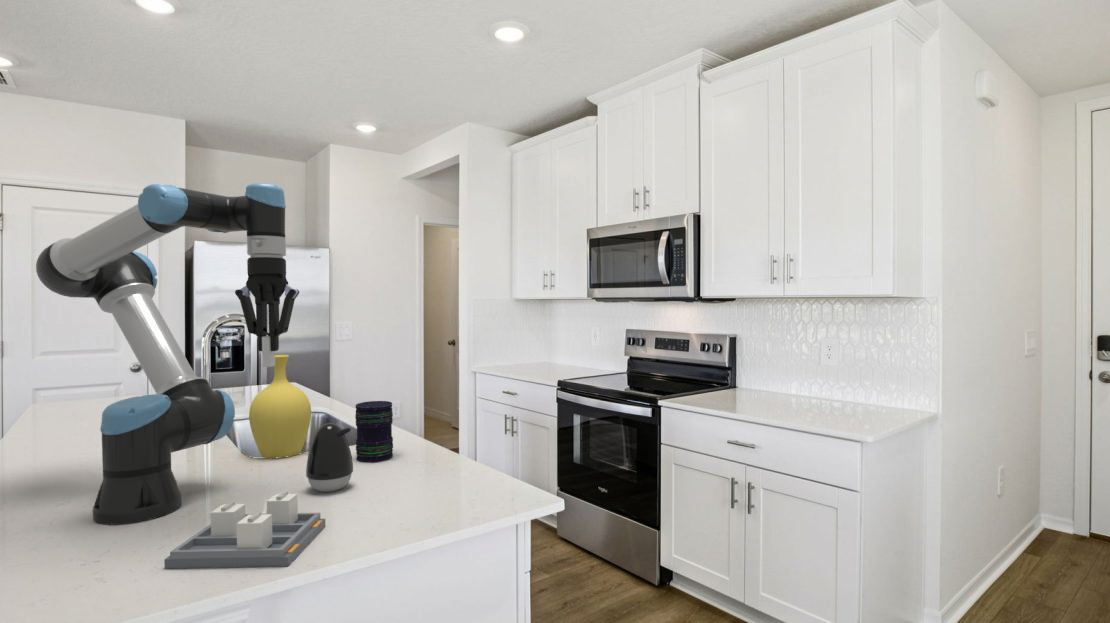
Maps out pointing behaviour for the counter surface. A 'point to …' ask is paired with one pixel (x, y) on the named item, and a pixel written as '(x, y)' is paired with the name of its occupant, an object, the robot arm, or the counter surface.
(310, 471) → the pump dispenser
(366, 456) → the storage jar
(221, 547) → the switch bank
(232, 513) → the tab
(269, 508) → the tab
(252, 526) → the tab
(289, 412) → the vase
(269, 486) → the counter surface
